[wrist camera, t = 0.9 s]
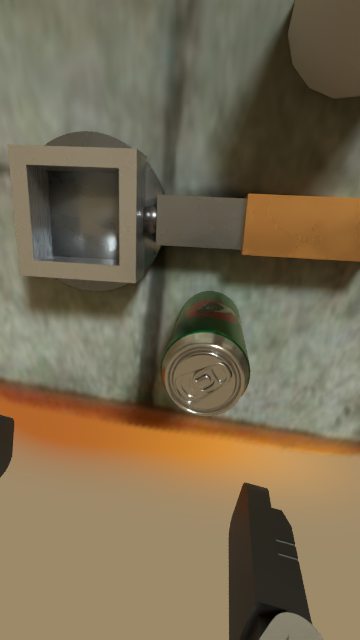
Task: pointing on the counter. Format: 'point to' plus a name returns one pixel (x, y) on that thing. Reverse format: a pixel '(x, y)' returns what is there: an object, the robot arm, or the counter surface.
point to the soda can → (206, 356)
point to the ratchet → (150, 216)
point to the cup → (327, 45)
